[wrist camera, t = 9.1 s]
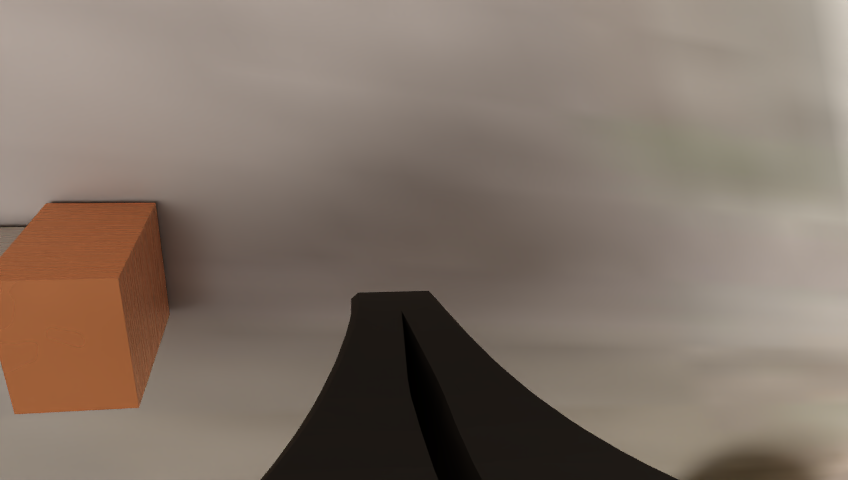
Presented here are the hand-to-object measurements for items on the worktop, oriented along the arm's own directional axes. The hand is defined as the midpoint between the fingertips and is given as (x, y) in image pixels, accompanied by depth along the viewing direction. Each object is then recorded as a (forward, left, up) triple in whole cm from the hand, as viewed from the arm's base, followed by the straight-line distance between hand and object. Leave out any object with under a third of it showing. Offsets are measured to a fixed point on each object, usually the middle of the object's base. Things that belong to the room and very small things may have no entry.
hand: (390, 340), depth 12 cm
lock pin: (0, +8, -3) cm, 9 cm away
